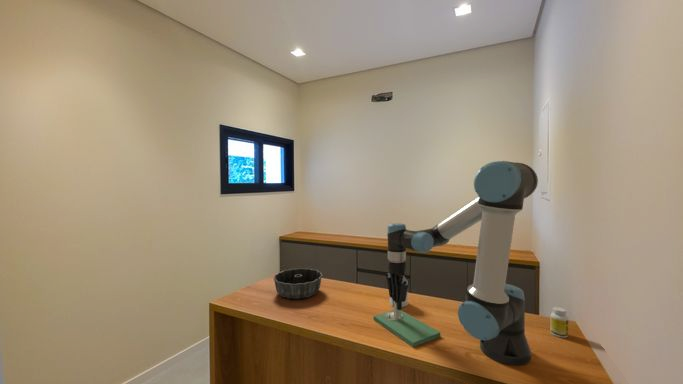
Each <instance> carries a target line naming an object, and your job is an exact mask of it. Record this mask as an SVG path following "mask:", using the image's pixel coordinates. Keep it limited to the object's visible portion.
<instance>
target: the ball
mask: <svg viewBox="0 0 683 384" xmlns="http://www.w3.org/2000/svg"><path fill="white" fill-rule="evenodd" d="M398 318H399V317H397V318H396V317H394V312H393V313H391V315H390V319H398Z"/></svg>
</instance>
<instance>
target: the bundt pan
mask: <svg viewBox="0 0 683 384" xmlns="http://www.w3.org/2000/svg"><path fill="white" fill-rule="evenodd" d="M322 278H323V273H322V272H321V271H319V270H318V269H312V268H302V267H301V268H292V269H286V270H285V269H284V270H282V271H279V272H277V274H275V275H274V276H273V281H274V285H275V290H276V292H277V294H278V295H280V296H281V297H283V298H287V300H291V299H294V300H297V299H298V300H299V299H302V300H303V299H305V298H310V297H312V296H314V295H316V294H317V293H318V291H319V290H320V288H321V283H322V282H321V281H322Z"/></svg>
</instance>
